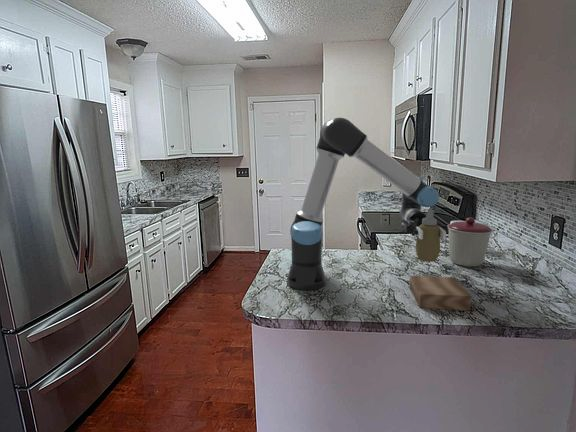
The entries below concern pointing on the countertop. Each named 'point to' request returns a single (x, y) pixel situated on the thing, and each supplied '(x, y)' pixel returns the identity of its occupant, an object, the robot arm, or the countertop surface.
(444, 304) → the walnut plinth
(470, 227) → the canister
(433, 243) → the squeeze bottle
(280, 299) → the countertop surface
